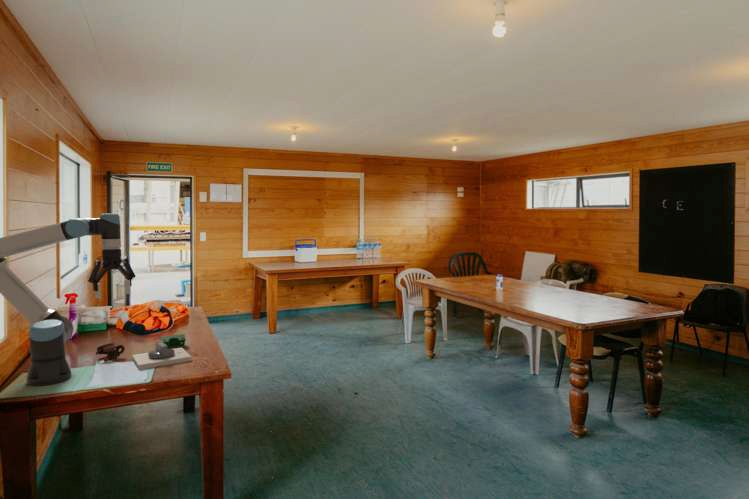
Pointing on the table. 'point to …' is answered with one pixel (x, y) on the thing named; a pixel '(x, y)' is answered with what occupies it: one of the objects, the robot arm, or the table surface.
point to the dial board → (146, 362)
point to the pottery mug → (110, 351)
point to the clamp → (174, 340)
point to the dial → (160, 351)
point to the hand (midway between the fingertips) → (113, 296)
